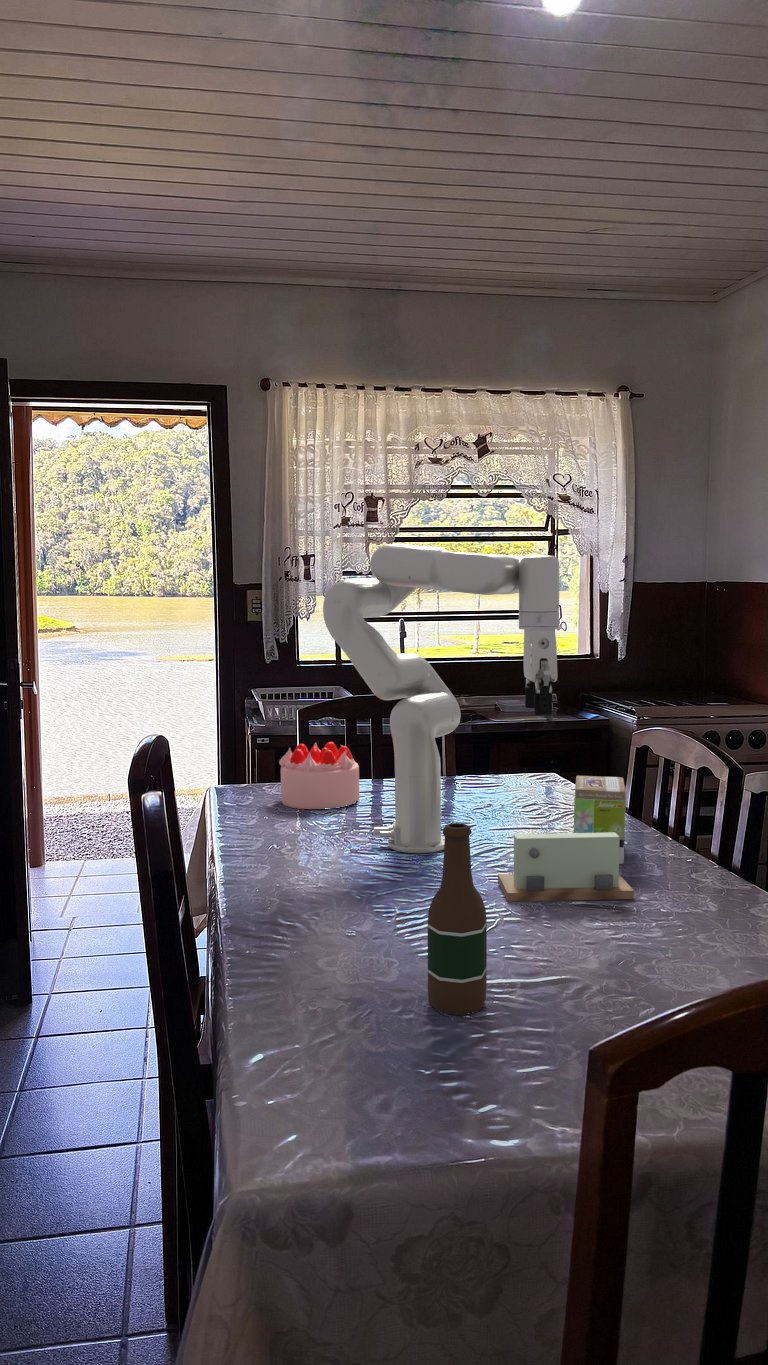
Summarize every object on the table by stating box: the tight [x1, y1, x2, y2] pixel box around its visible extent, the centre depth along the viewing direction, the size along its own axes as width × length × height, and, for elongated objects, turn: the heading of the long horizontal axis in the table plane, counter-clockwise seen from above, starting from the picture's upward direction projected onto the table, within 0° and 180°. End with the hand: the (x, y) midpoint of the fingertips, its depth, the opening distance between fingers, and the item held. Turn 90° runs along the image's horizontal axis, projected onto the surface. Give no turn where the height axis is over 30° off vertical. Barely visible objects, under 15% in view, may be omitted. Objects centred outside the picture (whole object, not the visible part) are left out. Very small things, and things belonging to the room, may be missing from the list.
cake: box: [278, 741, 360, 810], centre depth 248 cm, size 20×20×14 cm
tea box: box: [572, 775, 627, 865], centre depth 199 cm, size 15×10×15 cm, turn 168°
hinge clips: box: [526, 875, 613, 892], centre depth 174 cm, size 15×6×2 cm, turn 92°
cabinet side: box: [497, 873, 635, 902], centre depth 176 cm, size 22×11×2 cm, turn 92°
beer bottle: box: [427, 822, 488, 1016], centre depth 128 cm, size 8×8×24 cm
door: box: [513, 832, 620, 889], centre depth 173 cm, size 18×4×9 cm, turn 92°
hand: (538, 711), depth 188 cm, fingers open, 9 cm apart
